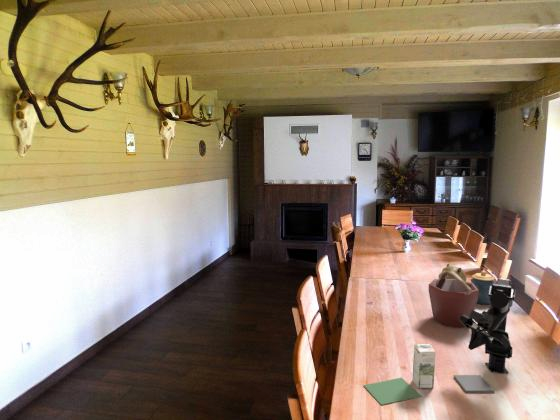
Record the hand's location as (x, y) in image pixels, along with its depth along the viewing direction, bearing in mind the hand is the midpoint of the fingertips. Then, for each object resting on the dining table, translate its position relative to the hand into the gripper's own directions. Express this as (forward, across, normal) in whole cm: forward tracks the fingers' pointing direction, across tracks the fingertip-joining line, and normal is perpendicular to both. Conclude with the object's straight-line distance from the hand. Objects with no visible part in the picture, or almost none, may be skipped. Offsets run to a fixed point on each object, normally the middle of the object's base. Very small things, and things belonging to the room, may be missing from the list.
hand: (469, 349), depth 143 cm
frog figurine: (-46, -97, +67) cm, 126 cm away
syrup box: (+21, -5, -2) cm, 21 cm away
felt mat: (+30, -5, -11) cm, 32 cm away
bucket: (-14, -47, +34) cm, 60 cm away
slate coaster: (+9, +1, +10) cm, 14 cm away
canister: (-40, -63, +60) cm, 96 cm away
